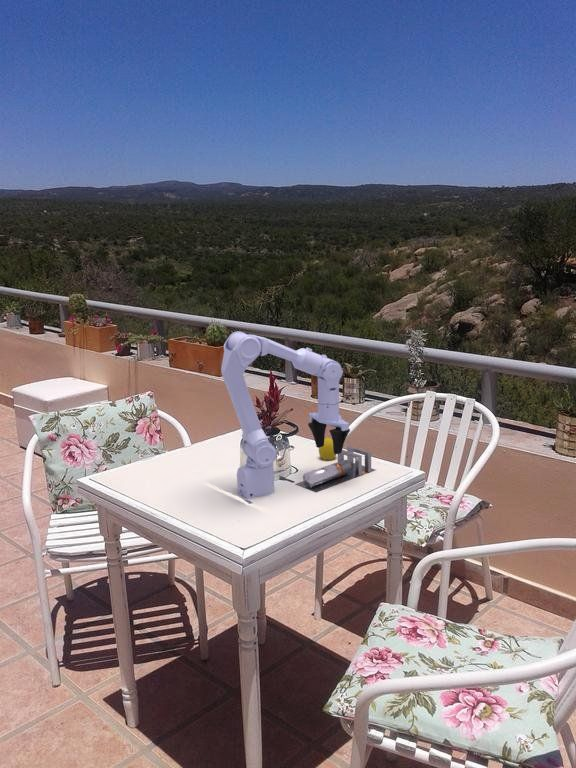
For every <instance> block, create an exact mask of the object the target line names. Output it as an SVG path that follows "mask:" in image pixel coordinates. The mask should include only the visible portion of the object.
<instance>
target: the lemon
mask: <svg viewBox="0 0 576 768" xmlns="http://www.w3.org/2000/svg"><path fill="white" fill-rule="evenodd" d="M318 453H319V457H320V458H321V459H322V460H323V461H332V460H334V459H335V458H336V456H337V454H334V450H333V440H332V437H331V438H330V437H328V436H327V437H326V436H325V438H324V446H323V447H319V448H318Z"/></svg>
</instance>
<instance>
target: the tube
mask: <svg viewBox="0 0 576 768" xmlns="http://www.w3.org/2000/svg"><path fill="white" fill-rule="evenodd" d="M351 470H352V467H351V464H350V462H349V461H348V460H347V459H344V460H342V461H340V462H338V461H337V462H333V463H331V464H328V465H326V466H323V467H320V468H317V469H313V470H311V471H308V472H306V473H304V474H303V475H302V481H303V482H304V484H305V486H306V487H308V488H310V487H313V486H316V485H319V484H321V483H324V482H327V481H329V480H332V479H335V478H338V477H340V476H343V475H346V474H348V473H350V472H351Z"/></svg>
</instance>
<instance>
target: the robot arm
mask: <svg viewBox="0 0 576 768" xmlns="http://www.w3.org/2000/svg"><path fill="white" fill-rule="evenodd" d="M223 351H224V352H223V356H222V361H221V369H220V372H221V376H222V378H223V381H224V384H225V387H226V390H227V392H228V395H229V397H230V398H229V399H230V401H231V405H232V406H233V409H234V412H235V414H236V417H237V420H238V423H239V426H240V429H241V431H242V434H241V438H242V441H243V444H242V450H243V453H244V455H246V457H247V458H246V462H245V464H244V465H242V466H240V467H238V468H237V471H236V481H237V485H236V486H237V492H238V493H239V494H240V495H242V496H243V497H244V498H243V497H242V499H243V500H244V501H245V502H246V503H248V504H254V503H253V502H252V501H251V500H248V499H252V498H257V497H262V496H264V497H265V496H269V495H272V494H273V493H274V492H275V472H274V462H275V460H276V458H277V451H276V448H275V446H273V445H272V444H271V443H270V441H269V439H268V436H267V435H266V433H265V431H264V430H263V428H262V425H261V423H260V420H259V416H258V414H257V411H256V407H255V406H254V403H253V400H252V397H251V393H250V391H249V388H248V385H247V382H246V378H245V377H244V373H245V371H246V369H247V368H248V366H250V365H251V364H252V363H253V362H254V361H255V360H257V358H258V357H259V356H261V357H265V356H266V355H268V354H269V355H272V356H275V357H278V358H279V359H283V360H286V361H289V362H291V363H292V365H293V368H294V369H296V370H298V371H301V372H304V373H306V374H309V375H311V376H315V377H317V412H315V411H314V412H309V415H308V416H309V418H308V419H309V421H311V422H308V423H307V426H308V427H309V429H310V431H311V433H312V436H313V438H314V439H313V440H314V443H315V446H316V448H318V449H319V447H323V446H324V439H325V438H326V435H325V434H326V430H327V426H331V427H332V428H333V429H329V433H330V436H331V439H332V440H333V450H334V454H336V455H338V454H339V453H341V452H342V450H343V448H344V445H345V441H346V439H347V437H348V435H349V434H350V432H351V430H350V429H351V428H350V423H349V422H347V421H345V420H344V419H343V418H342V415H340V379H341V378H342V376H343V374H344V370H343V369H342V366H341V364H340V363H339V361H336V360H333V359H331V358H329V357H327V355H326V354H319V353H316V352H314V351H313V349H312V348H309V347H306V348H304V347H303V348H299V349H297V350H295V349H293V348H290V347H289V346H286V345H283V344H281V343H279V342H276V341H273V340H272V339H269V338H267V337H263V336H259V335H255V334H251V333H249V334H246V333H245V332H243V331H234V332H232V333H231V334H230V335H229V336H228V337H227V339H226V341H225V342H224V344H223Z"/></svg>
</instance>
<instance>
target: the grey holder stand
mask: <svg viewBox="0 0 576 768" xmlns="http://www.w3.org/2000/svg"><path fill="white" fill-rule="evenodd" d="M363 455H364V465H362V463H363V462H362V461H363V459H362V456H363ZM345 456H346V460H348V461H349V462H350V464H351V467H352V470H351V472H350V473H348V474H346V475H343V476H340V477H338V478H335V479H332V480H329V481H327V482H324V483H321V484H319V485H316V486H313V487H310V488H308V487H306V486H305V484H304V482H303V480H302V481H299V482H296V483H295V484H294V485H295V486H298V487H300V488H303V489H305V490H308V491H310V492H313V493H319V492H322V491H324V490H326V489H330V488H332V487H335V486H337V485H340V484H343V483H345V482H348V481H351V480H354V479H356V478H357V479H358V477H362V476H365V475H367V474H371V473H373V472H375V471H376V469H374V468H372V452H371V451H368V450H365V449H362V448H361V449H360V448H359V447H355V446H351V445H348V446H346V450H344V449H342V452H341V453H339V454H337V462H340V461H342V460H345Z"/></svg>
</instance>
